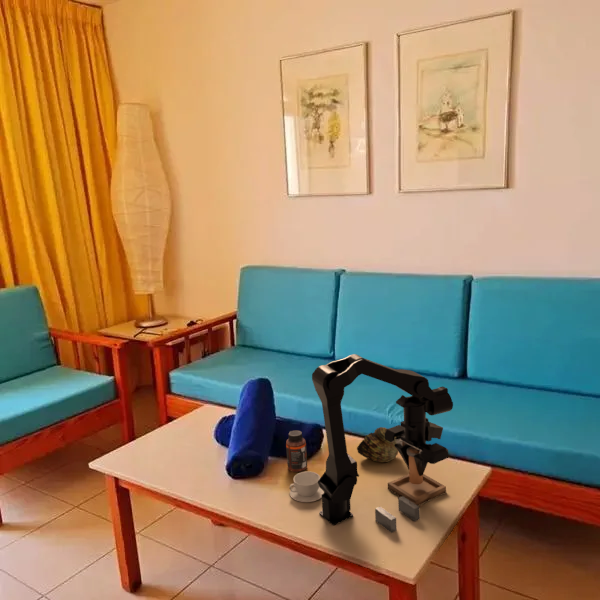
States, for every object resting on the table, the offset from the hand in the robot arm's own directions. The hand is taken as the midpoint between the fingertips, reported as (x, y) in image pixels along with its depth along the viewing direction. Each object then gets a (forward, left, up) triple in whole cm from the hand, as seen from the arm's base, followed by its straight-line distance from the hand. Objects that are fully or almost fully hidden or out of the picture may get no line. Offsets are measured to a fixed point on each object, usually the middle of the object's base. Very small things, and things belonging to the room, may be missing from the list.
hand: (415, 472), depth 151 cm
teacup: (-24, +17, -6) cm, 30 cm away
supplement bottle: (-19, +31, -6) cm, 37 cm away
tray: (0, 0, -6) cm, 6 cm away
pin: (0, 0, -2) cm, 2 cm away
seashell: (+4, +20, -6) cm, 21 cm away
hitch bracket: (-13, -7, -6) cm, 16 cm away
